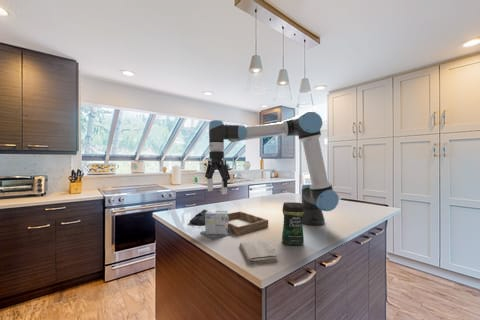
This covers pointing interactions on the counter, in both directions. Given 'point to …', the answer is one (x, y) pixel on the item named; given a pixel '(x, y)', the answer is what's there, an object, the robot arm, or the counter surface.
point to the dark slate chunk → (199, 218)
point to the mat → (216, 235)
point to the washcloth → (258, 252)
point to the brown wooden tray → (256, 225)
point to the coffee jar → (293, 223)
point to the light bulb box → (216, 222)
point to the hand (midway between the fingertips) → (217, 192)
